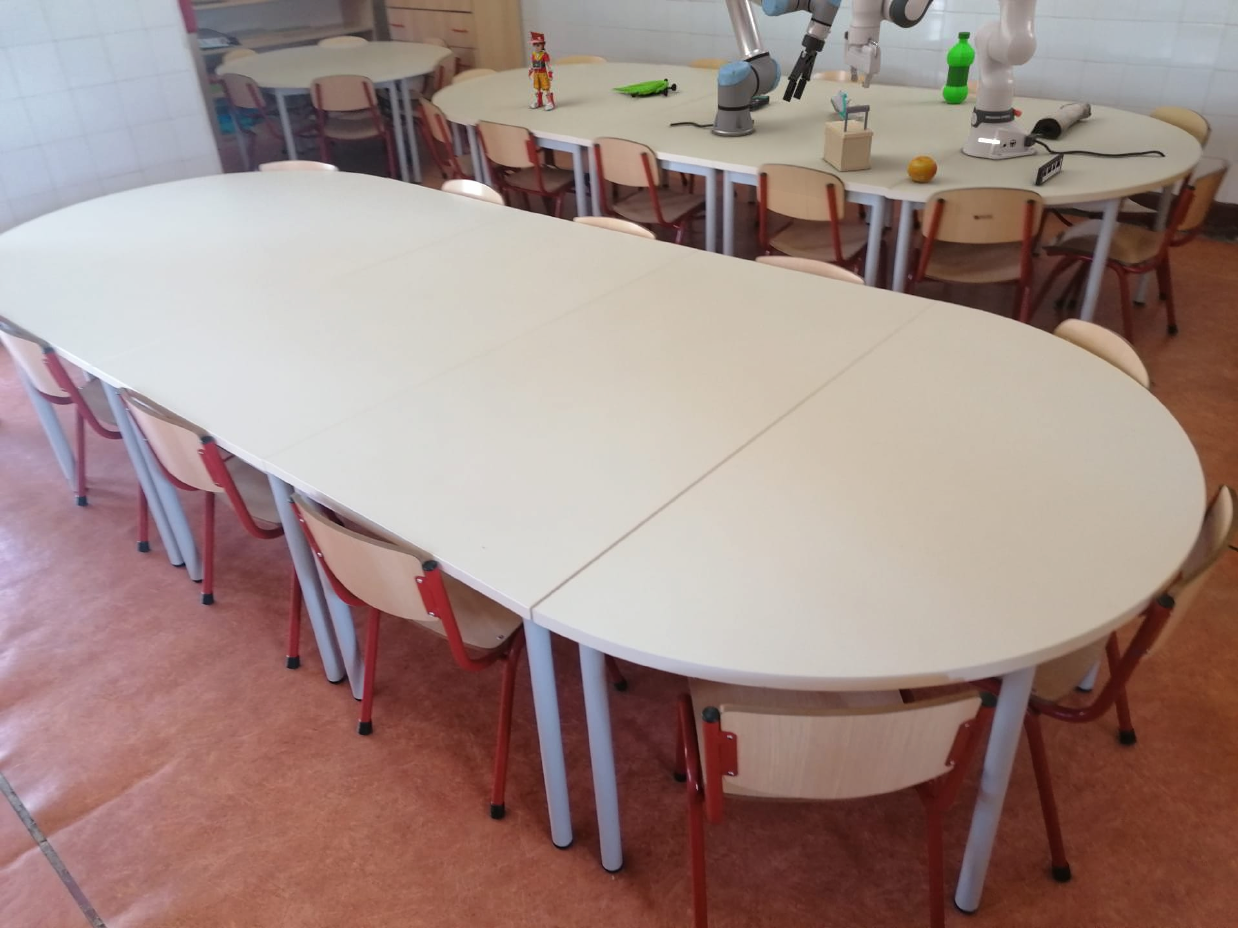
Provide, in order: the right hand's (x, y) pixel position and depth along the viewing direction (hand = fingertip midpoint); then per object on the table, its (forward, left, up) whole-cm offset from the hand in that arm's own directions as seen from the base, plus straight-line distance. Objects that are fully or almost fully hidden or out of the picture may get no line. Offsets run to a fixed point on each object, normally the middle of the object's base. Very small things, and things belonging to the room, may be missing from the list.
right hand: (859, 84), depth 279 cm
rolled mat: (-83, -24, -26) cm, 90 cm away
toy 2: (+55, -130, -26) cm, 143 cm away
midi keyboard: (-53, +26, -26) cm, 65 cm away
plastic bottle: (-64, -71, -26) cm, 99 cm away
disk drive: (+14, -90, -26) cm, 95 cm away
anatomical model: (-17, -63, -26) cm, 70 cm away
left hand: (+11, -39, -12) cm, 42 cm away
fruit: (-16, +18, -26) cm, 35 cm away
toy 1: (+99, -115, -26) cm, 154 cm away
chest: (+1, -5, -26) cm, 26 cm away
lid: (0, -5, -15) cm, 16 cm away
